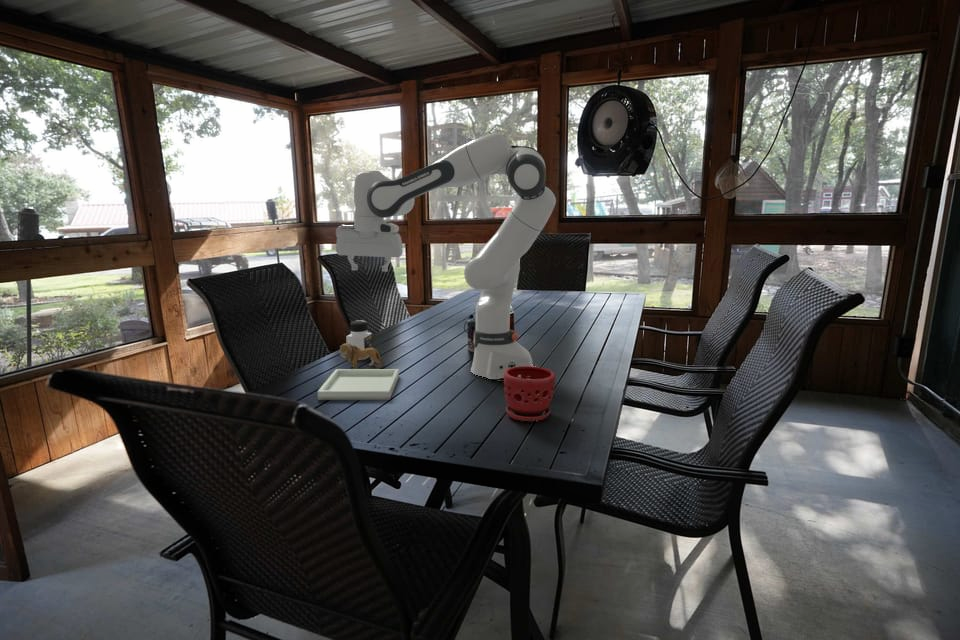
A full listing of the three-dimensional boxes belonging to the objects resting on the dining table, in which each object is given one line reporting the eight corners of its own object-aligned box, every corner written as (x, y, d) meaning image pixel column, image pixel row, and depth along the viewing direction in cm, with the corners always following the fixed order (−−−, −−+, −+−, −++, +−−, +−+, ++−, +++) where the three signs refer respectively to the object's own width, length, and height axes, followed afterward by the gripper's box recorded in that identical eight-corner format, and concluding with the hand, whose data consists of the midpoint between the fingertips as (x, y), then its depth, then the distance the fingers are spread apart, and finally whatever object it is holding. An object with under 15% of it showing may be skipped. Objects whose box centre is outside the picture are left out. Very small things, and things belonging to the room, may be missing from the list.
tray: (399, 376, 165) (398, 369, 164) (389, 399, 145) (389, 391, 145) (336, 376, 164) (335, 369, 164) (318, 399, 145) (317, 391, 144)
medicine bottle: (365, 356, 187) (363, 324, 184) (346, 355, 188) (345, 323, 185) (373, 350, 194) (371, 319, 191) (355, 349, 195) (353, 318, 192)
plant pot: (561, 422, 131) (563, 377, 128) (513, 428, 127) (514, 382, 125) (541, 403, 143) (542, 362, 141) (496, 408, 140) (497, 366, 137)
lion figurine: (342, 372, 169) (340, 346, 167) (339, 367, 173) (338, 342, 171) (386, 367, 174) (385, 341, 172) (382, 362, 179) (381, 337, 177)
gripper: (332, 224, 155) (333, 270, 158) (399, 227, 154) (399, 273, 157) (339, 224, 161) (340, 268, 164) (403, 226, 160) (403, 271, 163)
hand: (369, 270), depth 161 cm, fingers open, 8 cm apart
